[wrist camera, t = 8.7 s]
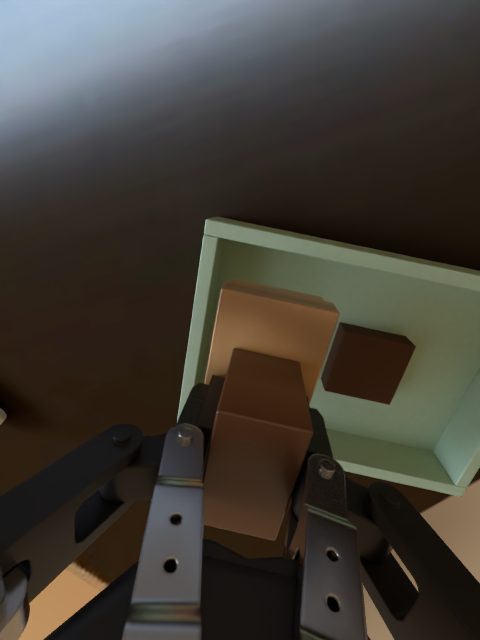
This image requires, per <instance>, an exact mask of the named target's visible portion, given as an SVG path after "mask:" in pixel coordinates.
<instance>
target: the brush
mask: <svg viewBox="0 0 480 640" xmlns="http://www.w3.org/2000/svg"><path fill="white" fill-rule="evenodd" d="M339 315H340V313H339V311H338V310H337V308H336V307H335V305H334V304H333V303H331V302H326V301H324V300H323V298H322V297H320V296H315V295H310V294H306V293H301V292H296V291H292V290H287V289H282V288H278V287H273V286H268V285H263V284H259V283H254V282H249V281H245V280H240V279H235V278H234V279H233V280H232V281H228V280H226V281H225V283H224V284H223V286H222V288H221V290H220V296H219V302H218V307H217V313H216V319H215V324H214V330H213V336H212V341H211V347H210V353H209V358H208V364H207V370H206V375H205V381H204V384H208V385H209V383H210V381H211V378H212V375H217V376H222V377H225V381H224V384H223V388H222V392H221V396H220V399H219V403H218V407H217V411H216V415H215V420H214V425H213V430H212V435H211V440H210V445H209V450H208V455H207V460H206V465H205V470H204V475H203V480H202V481H203V482H204V515H203V524H204V525H208V526H213V527H217V528H221V529H226V530H230V531H234V532H239V533H243V534H247V535H252V536H256V537H260V538H265V539H269V540H276V537H277V534H278V531H279V529H280V526H281V523H282V520H283V517H284V514H285V512H286V509H287V506H288V503H289V500H290V498H291V495H292V492H293V489H294V486H295V483H296V481H297V478H298V475H299V472H300V469H301V467H302V464H303V461H304V458H305V455H306V452H307V450H308V447H309V444H310V441H311V438H312V436H313V428H312V423H311V418H310V412H309V407H308V402H307V397H306V395H307V396H308V400H309V405H310V402H311V399H312V396H313V393H314V390H315V387H316V384H317V381H318V378H319V375H320V372H321V369H322V366H323V363H324V360H325V357H326V354H327V351H328V348H329V345H330V342H331V339H332V336H333V333H334V330H335V327H336V324H337V321H338V318H339Z"/></svg>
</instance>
